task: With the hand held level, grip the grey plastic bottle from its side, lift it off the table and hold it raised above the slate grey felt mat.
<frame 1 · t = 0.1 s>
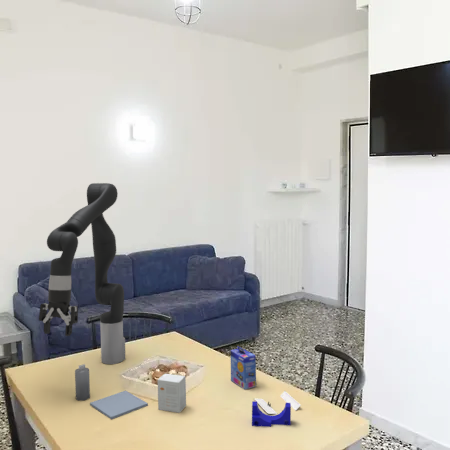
hand: (57, 334, 169), 22 cm above the table, fingers open, 8 cm apart
grey plastic bottle: (82, 397, 170), on the table
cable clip: (271, 424, 152), on the table
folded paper: (276, 406, 165), on the table
felt mat: (118, 405, 164), on the table
small box: (172, 408, 163), on the table
ink cartridge box: (242, 384, 182), on the table
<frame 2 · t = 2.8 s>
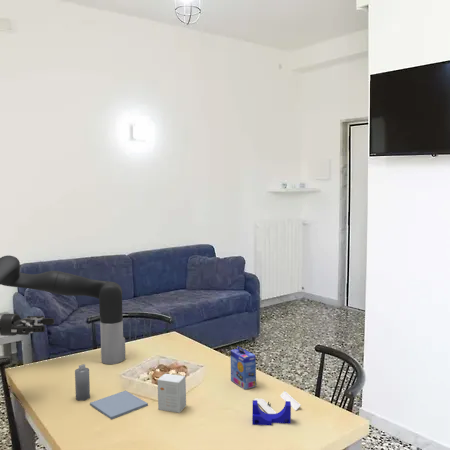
hand: (49, 325, 168), 26 cm above the table, fingers open, 8 cm apart
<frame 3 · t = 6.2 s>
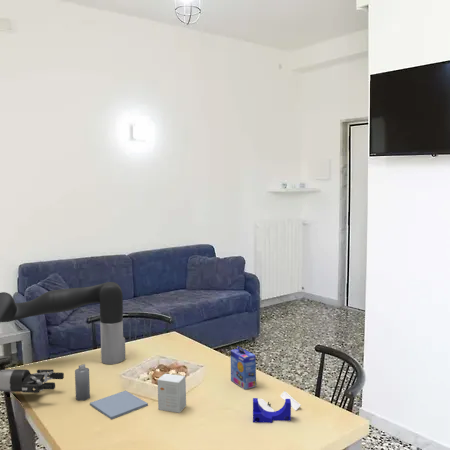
hand: (59, 380, 170), 6 cm above the table, fingers open, 8 cm apart
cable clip: (271, 420, 155), on the table
everything else where it was.
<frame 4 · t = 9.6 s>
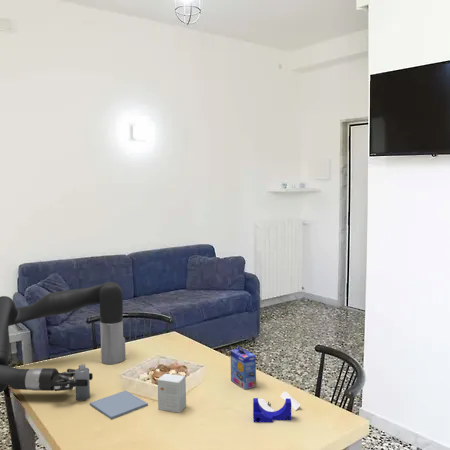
hand: (89, 379, 170), 7 cm above the table, fingers closed on grey plastic bottle, 4 cm apart
grey plastic bottle: (82, 397, 170), on the table, touching gripper
everything else where it was.
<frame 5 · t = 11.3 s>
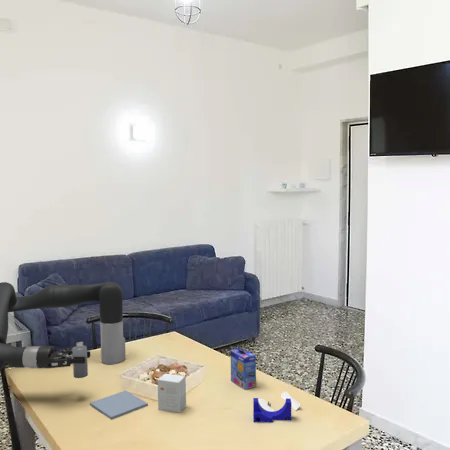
hand: (87, 357, 168), 15 cm above the table, fingers closed on grey plastic bottle, 4 cm apart
grey plastic bottle: (80, 375, 169), point 8 cm above the table, touching gripper
everything else where it was.
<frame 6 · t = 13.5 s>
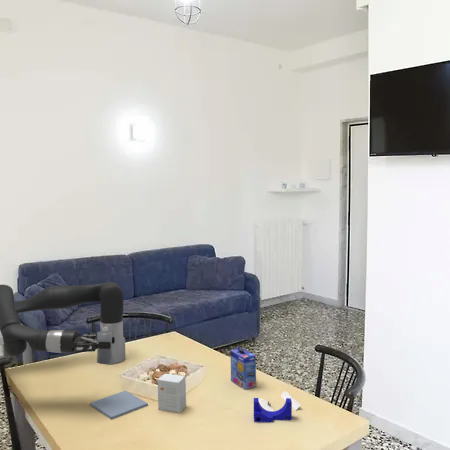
hand: (112, 342, 164), 21 cm above the table, fingers closed on grey plastic bottle, 4 cm apart
grey plastic bottle: (104, 361, 164), point 15 cm above the table, touching gripper
everything else where it was.
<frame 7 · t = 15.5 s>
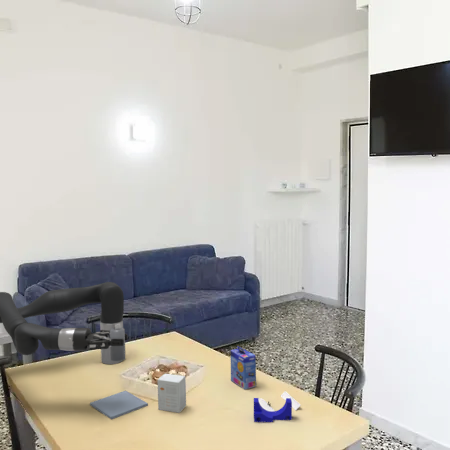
hand: (125, 339, 162), 23 cm above the table, fingers closed on grey plastic bottle, 4 cm apart
grey plastic bottle: (117, 358, 163), point 16 cm above the table, touching gripper
everything else where it was.
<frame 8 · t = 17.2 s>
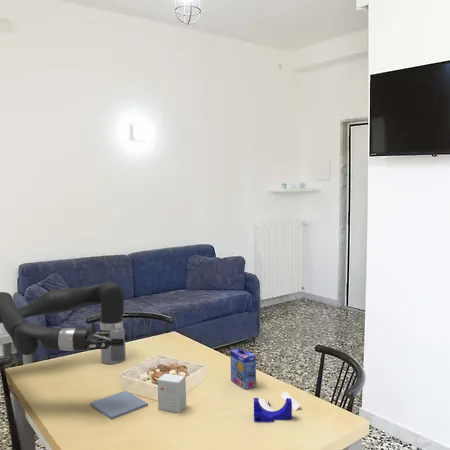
hand: (125, 339, 162), 23 cm above the table, fingers closed on grey plastic bottle, 4 cm apart
grey plastic bottle: (117, 358, 163), point 16 cm above the table, touching gripper
everything else where it was.
at the end: the gripper is holding grey plastic bottle; grey plastic bottle point 16.4 cm above the table; grey plastic bottle 0.0 cm from the felt mat (horizontally) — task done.
